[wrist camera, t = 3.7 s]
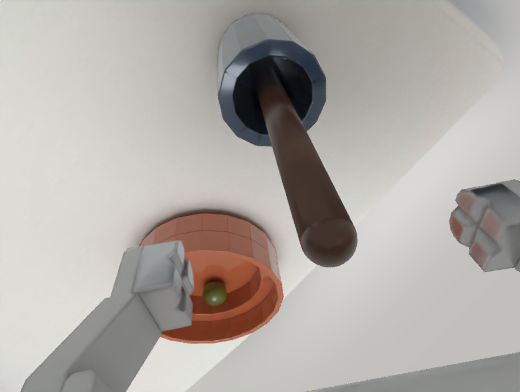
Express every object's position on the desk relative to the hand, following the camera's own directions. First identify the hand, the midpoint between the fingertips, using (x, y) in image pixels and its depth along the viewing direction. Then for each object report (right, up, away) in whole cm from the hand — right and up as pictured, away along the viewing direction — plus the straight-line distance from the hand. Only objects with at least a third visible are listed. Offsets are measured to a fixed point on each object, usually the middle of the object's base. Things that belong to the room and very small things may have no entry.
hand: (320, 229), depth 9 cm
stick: (-2, +11, +15) cm, 19 cm away
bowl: (-8, -7, +29) cm, 31 cm away
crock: (-2, +12, +15) cm, 20 cm away
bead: (-7, -11, +29) cm, 32 cm away
